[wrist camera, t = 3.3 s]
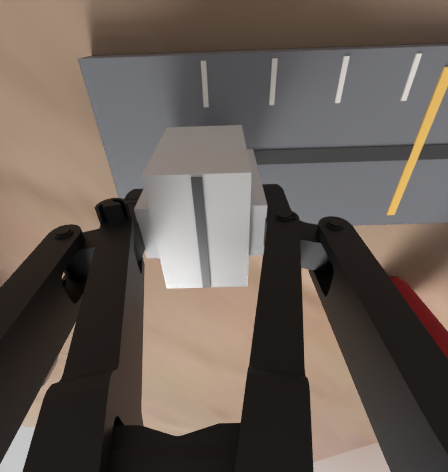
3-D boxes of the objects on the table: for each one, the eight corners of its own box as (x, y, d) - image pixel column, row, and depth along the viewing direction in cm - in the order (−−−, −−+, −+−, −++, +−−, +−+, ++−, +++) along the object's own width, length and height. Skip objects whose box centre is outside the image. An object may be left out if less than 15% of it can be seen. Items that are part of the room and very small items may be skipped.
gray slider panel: (134, 218, 24) (128, 232, 23) (91, 55, 17) (76, 59, 15) (479, 208, 24) (498, 222, 22) (585, 38, 17) (626, 39, 15)
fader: (184, 201, 20) (166, 289, 14) (173, 115, 17) (140, 177, 10) (238, 199, 20) (247, 287, 13) (239, 113, 17) (251, 173, 10)
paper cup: (332, 292, 30) (397, 446, 19) (402, 257, 27) (526, 416, 16) (363, 323, 34) (432, 468, 23) (428, 295, 31) (545, 447, 20)
